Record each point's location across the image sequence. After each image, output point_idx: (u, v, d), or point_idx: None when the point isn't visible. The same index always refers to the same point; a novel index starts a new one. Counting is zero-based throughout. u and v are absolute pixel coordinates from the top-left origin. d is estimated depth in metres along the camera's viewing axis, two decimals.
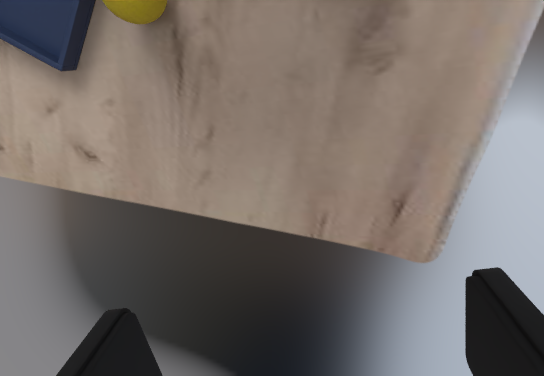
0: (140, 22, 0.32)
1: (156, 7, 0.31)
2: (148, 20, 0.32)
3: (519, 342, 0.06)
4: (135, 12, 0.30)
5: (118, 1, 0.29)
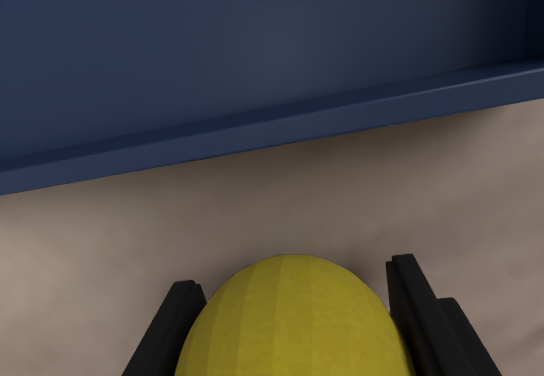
0: None
1: None
2: None
3: (409, 313, 0.07)
4: None
5: None
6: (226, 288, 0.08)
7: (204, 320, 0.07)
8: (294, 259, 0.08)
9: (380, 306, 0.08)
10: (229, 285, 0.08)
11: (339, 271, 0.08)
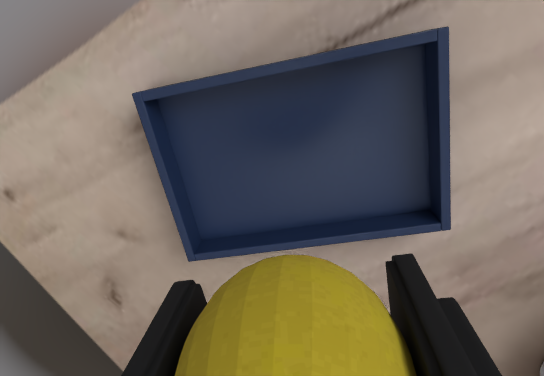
0: None
1: None
2: None
3: (409, 313, 0.07)
4: None
5: None
6: (226, 289, 0.08)
7: (204, 321, 0.07)
8: (294, 260, 0.08)
9: (380, 307, 0.08)
10: (229, 286, 0.08)
11: (339, 272, 0.08)
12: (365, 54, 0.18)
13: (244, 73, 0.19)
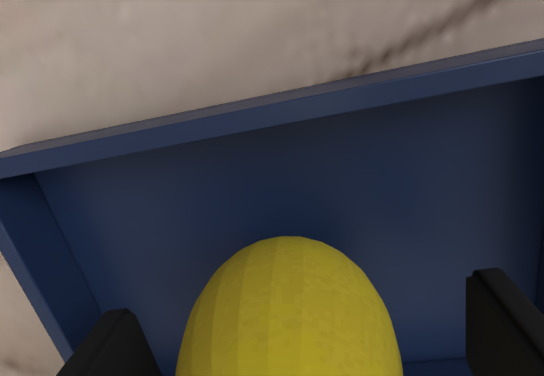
0: None
1: None
2: None
3: (519, 342, 0.06)
4: None
5: None
6: (228, 264, 0.09)
7: (208, 291, 0.08)
8: (288, 239, 0.09)
9: (364, 279, 0.09)
10: (230, 261, 0.09)
11: (328, 249, 0.09)
12: (444, 92, 0.08)
13: (176, 130, 0.09)
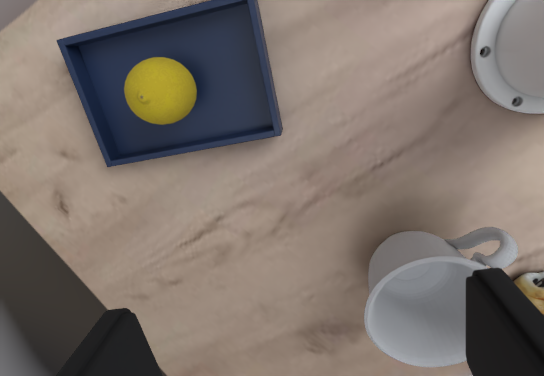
0: None
1: None
2: None
3: (519, 342, 0.06)
4: (143, 119, 0.28)
5: (135, 106, 0.26)
6: None
7: None
8: None
9: (184, 67, 0.29)
10: None
11: None
12: (203, 9, 0.28)
13: (128, 24, 0.29)
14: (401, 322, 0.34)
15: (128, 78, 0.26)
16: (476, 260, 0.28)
